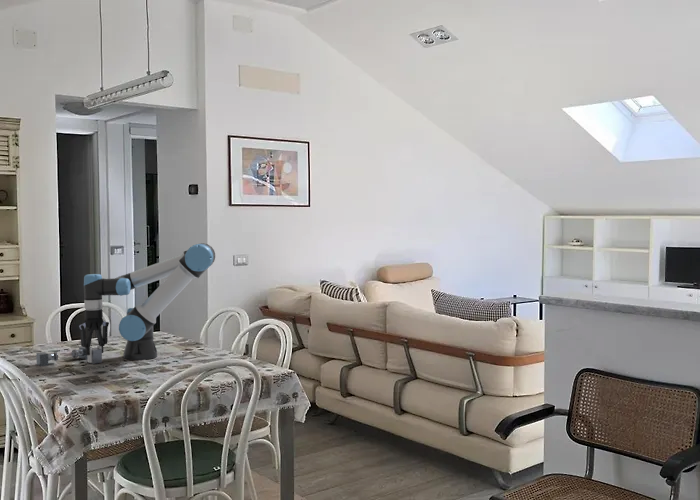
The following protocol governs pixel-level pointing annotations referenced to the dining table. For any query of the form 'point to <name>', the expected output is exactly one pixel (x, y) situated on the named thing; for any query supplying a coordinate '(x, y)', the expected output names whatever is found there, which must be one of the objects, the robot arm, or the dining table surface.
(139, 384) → the dining table surface
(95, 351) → the block
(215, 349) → the dining table surface
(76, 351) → the shaft
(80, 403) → the dining table surface
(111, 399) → the dining table surface
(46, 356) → the shaft
